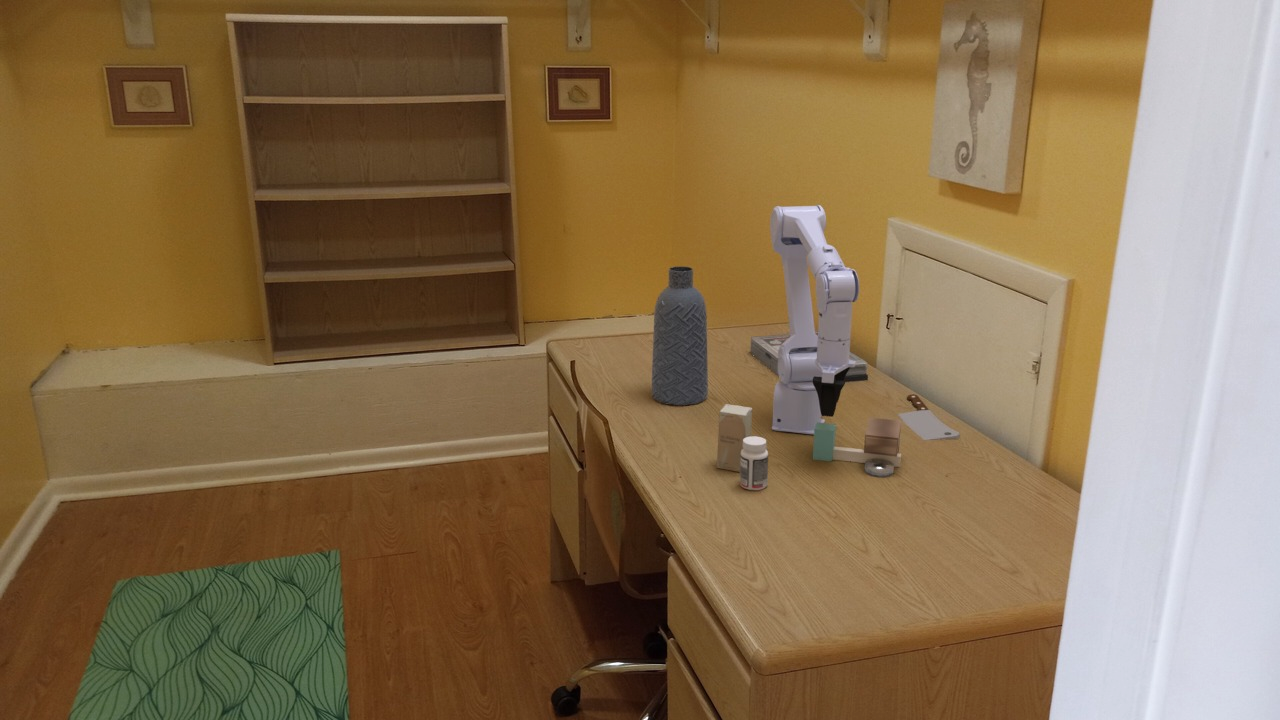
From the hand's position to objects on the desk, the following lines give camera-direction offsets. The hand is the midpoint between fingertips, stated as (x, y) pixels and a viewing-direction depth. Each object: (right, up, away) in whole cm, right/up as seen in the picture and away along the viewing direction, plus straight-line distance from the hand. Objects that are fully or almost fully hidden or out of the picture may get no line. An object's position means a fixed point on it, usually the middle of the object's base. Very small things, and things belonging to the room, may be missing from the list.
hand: (829, 408), depth 182 cm
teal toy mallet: (+5, -10, +1) cm, 11 cm away
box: (-18, -11, -1) cm, 21 cm away
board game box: (+5, +7, +55) cm, 56 cm away
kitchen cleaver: (+22, -4, +22) cm, 32 cm away
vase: (-26, +1, +34) cm, 43 cm away
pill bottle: (-15, -13, -9) cm, 22 cm away
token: (+8, -11, -3) cm, 14 cm away
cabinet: (+9, -10, 0) cm, 14 cm away
